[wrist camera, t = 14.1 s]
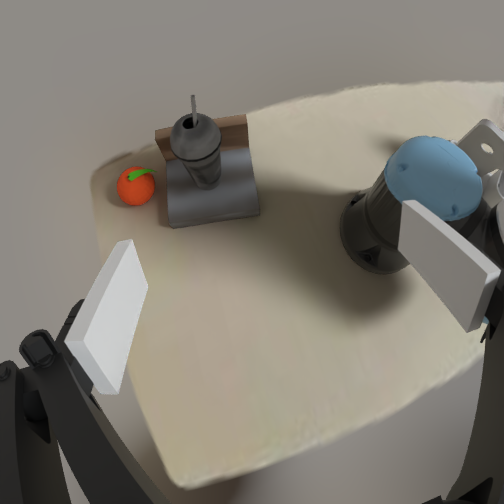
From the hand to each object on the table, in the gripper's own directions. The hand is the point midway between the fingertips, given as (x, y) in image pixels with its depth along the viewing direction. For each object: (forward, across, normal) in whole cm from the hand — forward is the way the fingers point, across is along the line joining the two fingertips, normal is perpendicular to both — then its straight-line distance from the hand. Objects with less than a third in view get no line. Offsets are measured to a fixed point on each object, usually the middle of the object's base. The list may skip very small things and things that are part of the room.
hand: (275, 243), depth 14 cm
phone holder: (+39, +50, -12) cm, 65 cm away
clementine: (+42, -19, -9) cm, 47 cm away
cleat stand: (+40, -6, -10) cm, 42 cm away
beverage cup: (+39, -6, -7) cm, 40 cm away
